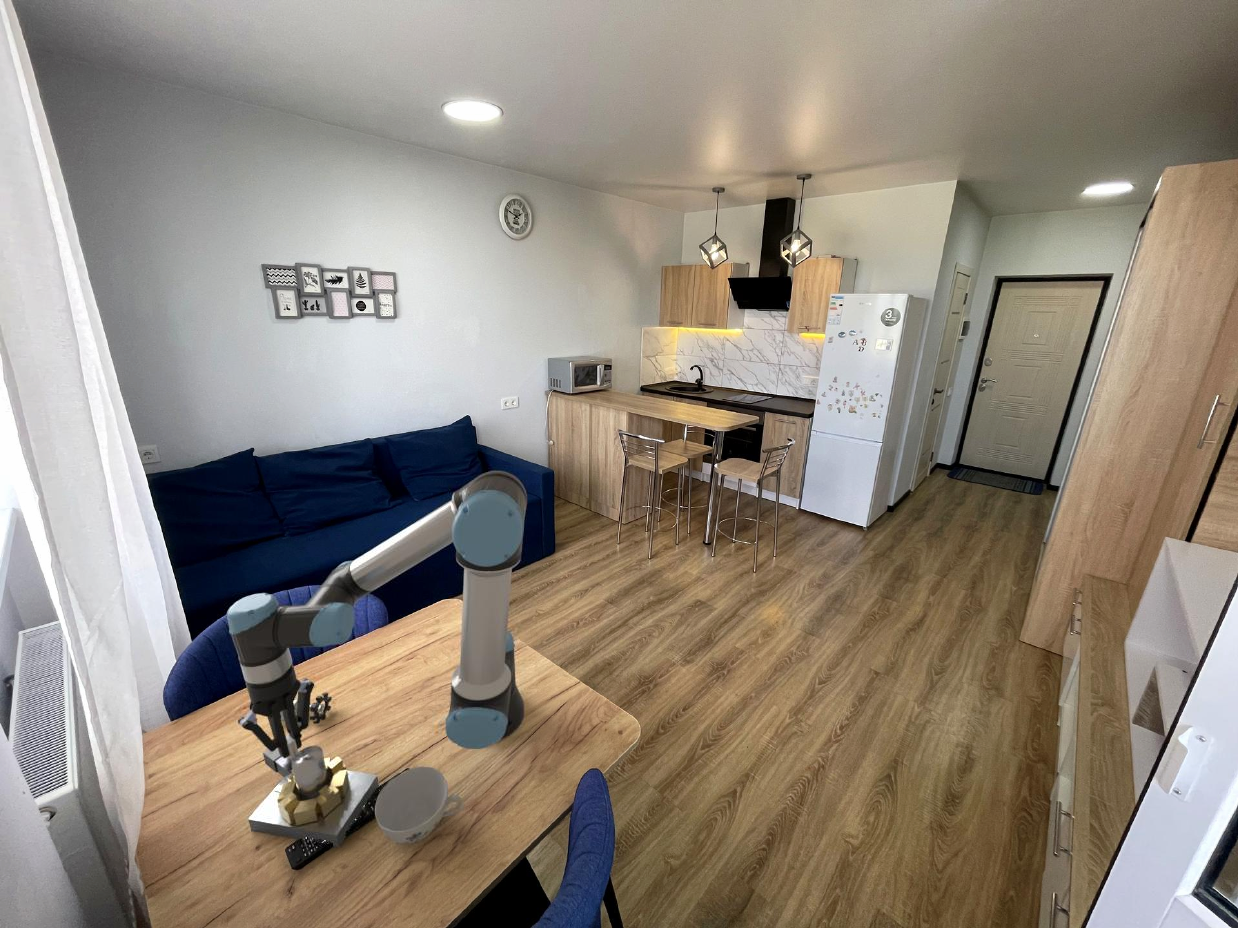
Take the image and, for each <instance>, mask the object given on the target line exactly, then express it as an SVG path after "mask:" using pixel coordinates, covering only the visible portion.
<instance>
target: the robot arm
mask: <svg viewBox="0 0 1238 928" xmlns="http://www.w3.org/2000/svg"><path fill="white" fill-rule="evenodd" d="M527 505H528V494H527V491H526V488H525V487H524V484H523V483H522V482H521V481H520V479H519V478H518V477H516V476H515V475H513V474H511V473H509V472H507V471H503V470H490V471H488V472H484V473H482V474H480V475H478V476H477V477H475V478H474V479H473V480H471V481H469V482H468V483H467V484H465V485H463V486H462V487H461V488H459V489H458V490H456V491H454V492H453V494H452V496H451V500H450V501H448V502H446V503H444V504H443V505H441V506H440V507H437V508H436V509H435V510H433V511H432V512H430V513H428V514H427V515H425V516H424V517H422V518H420V519H419V520H417V521H416V522H414V523H413V524H411V525H409V526H407V527H406V528H403V530H401V531H399V532H398V533H396V534H395V535H393V536H391V537H390V538H388V539H387V540H385V541H383V542H381V543H380V544H378V545H377V546H374V547H373V548H372V549H370V550H369V551H367V552H366V553H364V554H362V555H361V556H359V557H357V558H355V559H354V560H348V561H347V560H346V561H344V562H342V563H341V564H339V565H338V566H337V567H336V568H335V569H333V570H332V571H331V572H330V574H329V575H328V576H327V578H326V580H325V581H324V582H323V583H322V584H321V586H320V587H319V588H318V589H317V590H316V591H315V593H314V594H313V595H312V597H310V599H308V601H306V603H305V604H296V605H295V604H294V605H280V603H279V601H278V600H277V598H276V596H275V595H273V594H269V593H267V592H261V593H254V594H251V595H247V596H245V597H242V598H241V599H239V600H237V601H236V602H233V604H232V605H231V606H230V607H229V608H228V610H227V612H226V618H227V623H228V628H229V630H228V634H230V637H231V640H232V642H233V645H234V647H235V650H236V654H237V655H238V661H239V664H240V668H241V672H242V675H243V679H244V682H245V686H246V689H247V692H248V696H249V698H250V699H249V700H250V704H249V711H248V712H247V714H246V715H245V716H241V717H240V718H239V719H238V720H237V724H239V726H241V727H242V729H244V730H247V731H249V732H251V733H253V735H254V736H255V737H256V738H257V739H258V740H259V741H260V743H261V744H263V746H264V747H265V748H266V749H269V750H270V751H271V752H273V751H275V750H276V748H278V750H279V754H280V755H281V756H282V757H283V758H287V757H288V758H290V759H291V760H292V759H293V757H294V756H295V755H296V754H297V753H298V752H299V749H300V748H302V746H303V744H302V736H303V734H302V733H301V732H302V731H303V730H306V729H307V728H308V727H309V722H310V703H311V696H312V695H311V694H312V693H313V689H314V687H315V683H314V682H312V681H311V680H310V679H309V678H307V677H305V678H304V679H303V680H299V679H298V678H297V675H296V670H295V667H294V663H293V659H292V655H291V652H290V649H291V648H296V649H297V648H312V647H313V648H314V647H316V648H323V647H327V646H333V645H341V644H343V643H345V642H347V641H348V640H349V639H350V637H351V635H352V632H353V628H354V626H355V617H356V616H355V611H354V607H355V605H356V604H357V603H358V601H360V600H361V599H362V598H363V597H366V596H368V595H369V594H370V593H372V592H373V591H375V590H377V589H378V588H380V587H381V586H383V585H385V584H386V583H389V581H391V580H393V579H395V578H396V577H398V576H399V575H401V574H403V573H405V572H406V571H408V570H409V569H411V568H412V567H414V566H416V565H417V564H419V563H421V562H422V561H424V560H426V559H427V558H429V557H431V556H432V555H434V554H436V553H437V552H440V550H442V549H444V548H445V547H447V546H449V545H450V544H452V543H453V545H454V547H455V551H456V552H455V559H456V562H457V563H458V565H459V566H461V567H462V568H463V569H464V570H463V591H462V609H461V610H462V612H461V614H462V615H461V634H460V635H461V637H460V660H459V661H460V662H459V666H458V667H456V668H455V670H454V671H453V673H452V675H451V684H450V685H451V687H450V703H449V704H450V705H449V709H448V714H447V717H446V718H445V727H444V728H445V733H446V737H448V739H449V741H450V742H451V743H453V744H456V745H457V746H458V747H461V748H463V749H468V750H481V749H486V748H489V747H492V746H493V745H494V744H497V743H498V742H499V741H500V740H502V739H505V738H507V737H509V736H510V735H512V734H513V733H514V732H515V731H516V730H518V728H519V727H520V725H521V724H522V721H523V720H524V715H525V702H524V698H523V696H522V694H521V693H520V691H519V688H518V686H517V683H516V665H515V663H516V662H515V661H516V660H515V647H516V645H515V641H514V637H513V634H512V632H510V630H508V625H509V624H508V623H509V610H510V600H511V599H510V598H511V597H510V595H511V583H512V570H513V568H515V567H516V566H517V565H518V564H519V563H520V562H521V559H522V551H523V537H524V530H525V529H524V528H525V517H526V511H527V507H528V506H527ZM296 697H297V699H298V701H297V713H295V711H294V709H295V707H294V703H293V701H294V699H296ZM281 711H282V713H283V717H284V721H281V715H280V712H281ZM258 715H259V716H261V717H262V716H263V717H267V719H268V720H267V721H268V724H269V726H270V730H271V732H272V733H271V734H272V736H273V738H271V737H270V736H269V735H268V734H267V733H266V731H265V730H264V729H263V728H262V726H260V725H259V724H258V718H257V716H258ZM283 722H284V723H285V728H286V731H287V734H286V733H285V729H284V726H283Z"/></svg>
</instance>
